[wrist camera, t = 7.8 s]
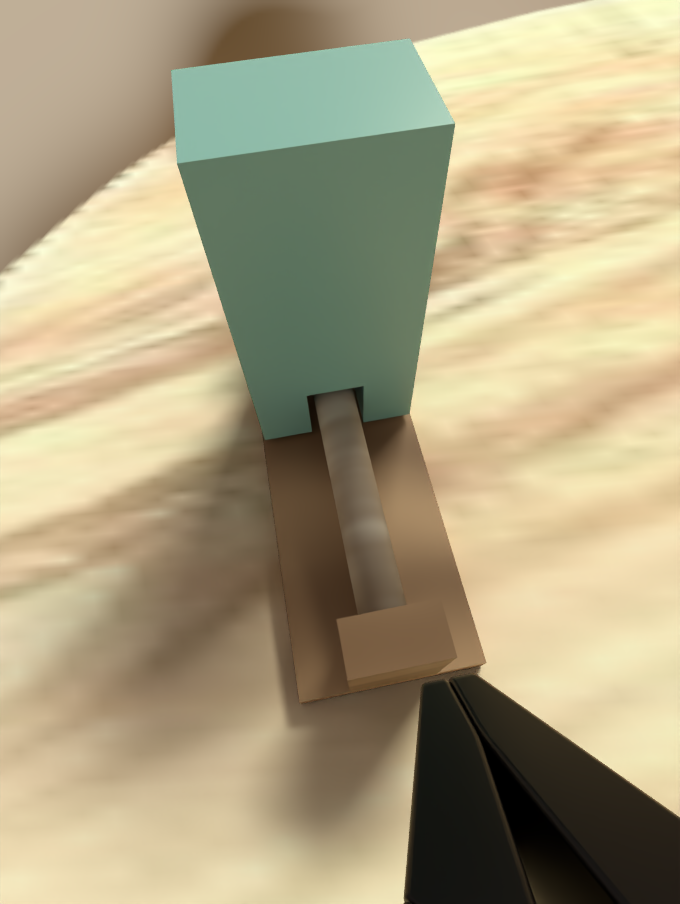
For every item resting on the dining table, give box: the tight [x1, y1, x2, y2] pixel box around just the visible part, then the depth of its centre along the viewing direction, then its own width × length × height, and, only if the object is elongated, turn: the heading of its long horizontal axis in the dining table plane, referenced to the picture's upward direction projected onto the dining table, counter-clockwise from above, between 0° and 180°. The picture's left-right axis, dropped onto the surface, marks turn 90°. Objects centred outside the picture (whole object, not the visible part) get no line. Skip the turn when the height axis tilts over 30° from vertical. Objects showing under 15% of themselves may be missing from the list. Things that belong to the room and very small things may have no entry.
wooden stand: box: [262, 388, 486, 704], centre depth 20 cm, size 18×6×5 cm, turn 11°
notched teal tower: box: [171, 39, 455, 440], centre depth 17 cm, size 4×6×12 cm, turn 101°
